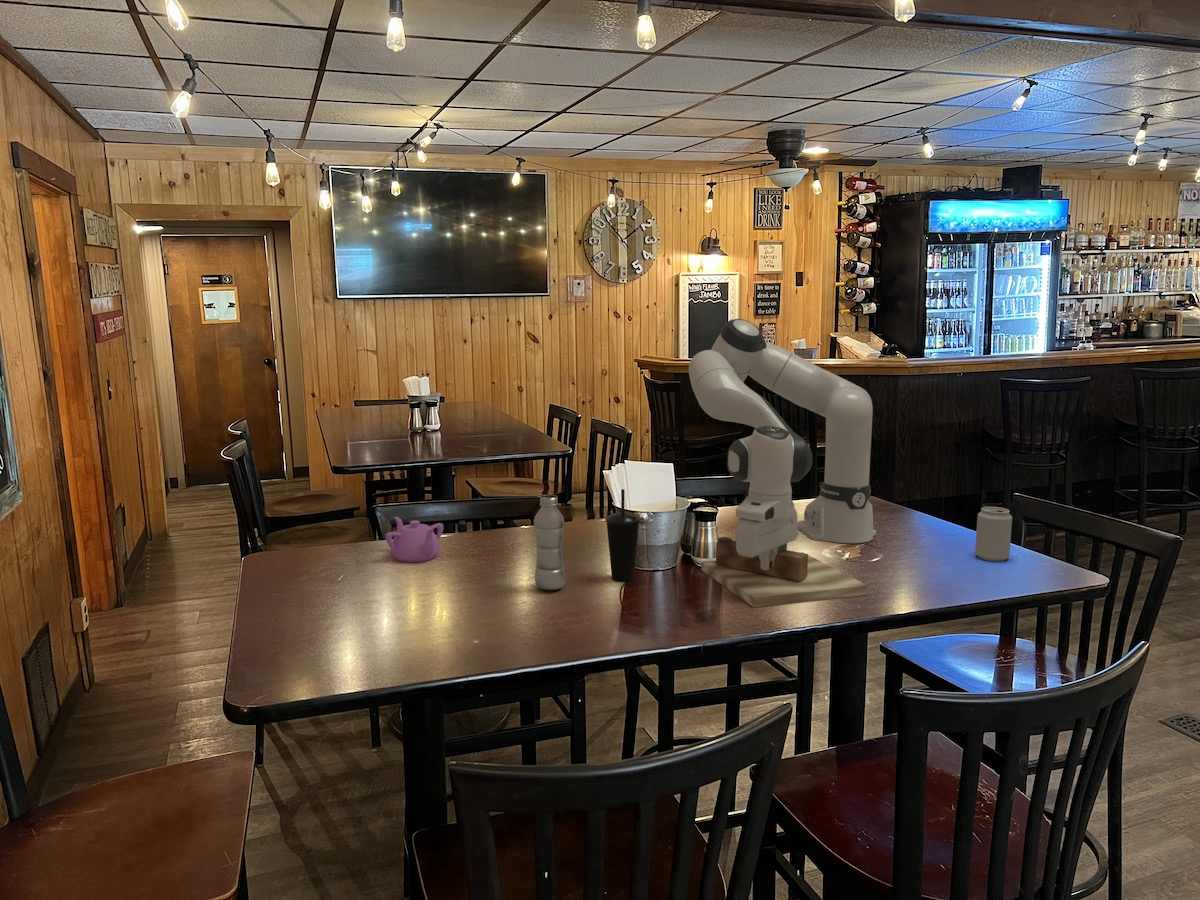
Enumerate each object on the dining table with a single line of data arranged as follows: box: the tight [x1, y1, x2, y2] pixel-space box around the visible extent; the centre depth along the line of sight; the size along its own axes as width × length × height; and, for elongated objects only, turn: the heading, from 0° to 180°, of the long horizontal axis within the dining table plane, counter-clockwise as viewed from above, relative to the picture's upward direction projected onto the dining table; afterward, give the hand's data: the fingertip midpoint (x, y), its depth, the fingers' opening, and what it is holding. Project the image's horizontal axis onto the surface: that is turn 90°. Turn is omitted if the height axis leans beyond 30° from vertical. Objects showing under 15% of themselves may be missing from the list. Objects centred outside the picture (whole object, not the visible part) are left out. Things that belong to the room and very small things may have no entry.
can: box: [974, 506, 1013, 562], centre depth 206 cm, size 8×8×12 cm
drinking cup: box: [604, 488, 641, 583], centre depth 190 cm, size 8×8×20 cm
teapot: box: [384, 516, 444, 564], centre depth 208 cm, size 12×14×9 cm
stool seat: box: [700, 543, 869, 608], centre depth 189 cm, size 26×26×5 cm
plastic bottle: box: [533, 494, 566, 591], centre depth 183 cm, size 6×7×20 cm
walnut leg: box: [715, 536, 809, 581], centre depth 190 cm, size 21×4×6 cm, turn 53°
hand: (767, 568), depth 184 cm, fingers closed
